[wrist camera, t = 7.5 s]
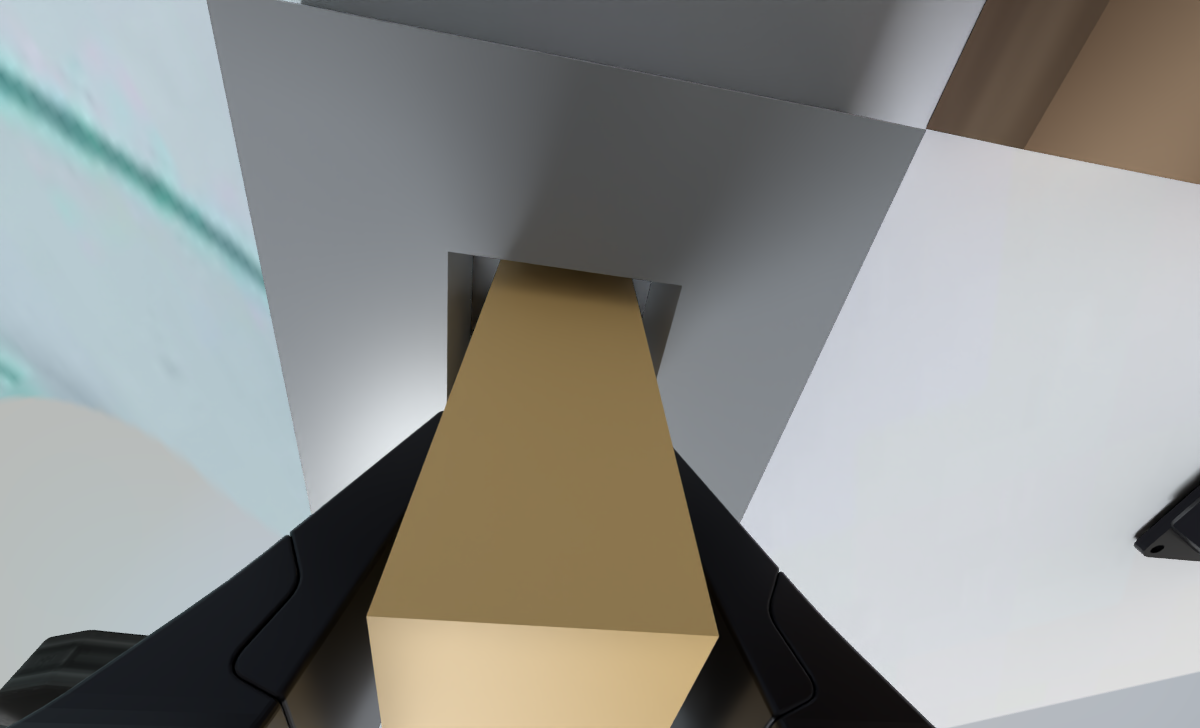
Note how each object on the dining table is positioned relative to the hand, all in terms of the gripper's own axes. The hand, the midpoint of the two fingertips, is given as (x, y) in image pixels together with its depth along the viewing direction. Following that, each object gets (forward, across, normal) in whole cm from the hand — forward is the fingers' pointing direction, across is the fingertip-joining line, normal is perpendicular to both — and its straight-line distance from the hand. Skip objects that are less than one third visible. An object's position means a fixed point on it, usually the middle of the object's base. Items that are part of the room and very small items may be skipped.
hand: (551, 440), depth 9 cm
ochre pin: (+4, 0, 0) cm, 5 cm away
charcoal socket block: (+6, 0, 0) cm, 6 cm away
